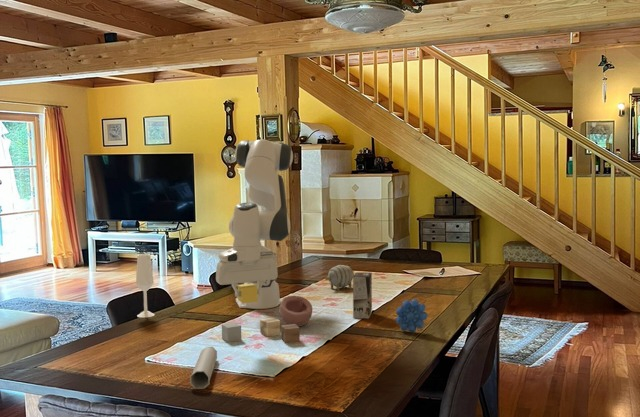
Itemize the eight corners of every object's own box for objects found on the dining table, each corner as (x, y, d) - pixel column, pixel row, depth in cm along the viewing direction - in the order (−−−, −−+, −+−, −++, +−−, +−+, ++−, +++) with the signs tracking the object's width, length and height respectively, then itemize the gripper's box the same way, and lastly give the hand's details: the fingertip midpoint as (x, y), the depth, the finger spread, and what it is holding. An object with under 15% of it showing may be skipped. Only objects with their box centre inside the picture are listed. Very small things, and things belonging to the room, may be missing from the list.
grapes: (431, 331, 222) (431, 297, 221) (425, 336, 216) (425, 301, 215) (399, 327, 227) (399, 294, 226) (393, 332, 221) (393, 298, 220)
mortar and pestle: (287, 332, 223) (287, 300, 222) (274, 324, 233) (273, 293, 232) (318, 327, 228) (317, 296, 227) (303, 320, 239) (303, 290, 238)
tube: (198, 347, 194) (186, 374, 169) (215, 341, 194) (205, 367, 169) (204, 363, 194) (193, 392, 170) (221, 357, 195) (212, 386, 170)
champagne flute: (158, 314, 250) (156, 254, 248) (146, 318, 244) (144, 256, 242) (144, 312, 253) (142, 253, 251) (133, 316, 247) (131, 255, 245)
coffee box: (369, 318, 240) (369, 276, 239) (352, 318, 241) (352, 276, 240) (372, 312, 249) (372, 272, 247) (356, 312, 250) (355, 271, 249)
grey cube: (222, 338, 216) (221, 324, 215) (235, 336, 218) (235, 322, 218) (227, 342, 212) (227, 327, 211) (241, 340, 214) (241, 325, 214)
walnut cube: (281, 339, 214) (281, 325, 214) (295, 338, 216) (295, 323, 215) (285, 343, 209) (284, 329, 209) (299, 342, 211) (299, 327, 210)
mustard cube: (237, 299, 208) (237, 284, 207) (252, 298, 210) (252, 283, 209) (242, 303, 203) (242, 288, 203) (257, 301, 205) (257, 286, 205)
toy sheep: (360, 287, 296) (360, 264, 295) (335, 293, 285) (335, 268, 284) (344, 284, 304) (344, 261, 303) (319, 289, 292) (318, 266, 291)
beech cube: (260, 333, 222) (260, 319, 221) (272, 331, 225) (272, 317, 224) (267, 337, 218) (267, 322, 217) (280, 334, 220) (279, 320, 220)
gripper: (273, 249, 212) (273, 290, 213) (213, 254, 203) (214, 296, 205) (280, 252, 206) (280, 294, 208) (219, 257, 198) (220, 300, 199)
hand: (247, 295), depth 206 cm, fingers closed on mustard cube, 5 cm apart
